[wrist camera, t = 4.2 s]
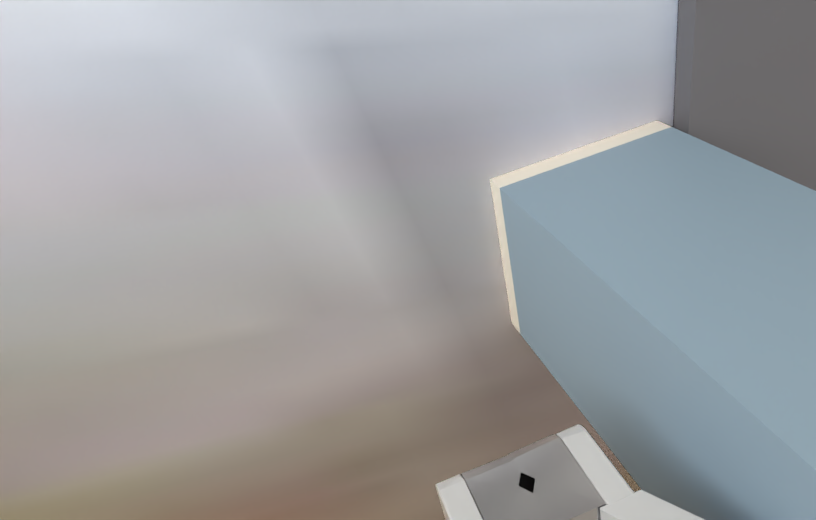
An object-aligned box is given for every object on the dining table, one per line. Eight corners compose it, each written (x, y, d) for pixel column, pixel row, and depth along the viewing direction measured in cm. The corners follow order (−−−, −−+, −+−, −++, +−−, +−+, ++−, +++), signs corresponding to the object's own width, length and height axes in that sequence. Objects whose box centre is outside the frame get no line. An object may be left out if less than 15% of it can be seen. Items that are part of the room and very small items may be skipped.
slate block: (511, 322, 18) (777, 663, 10) (489, 178, 15) (834, 487, 7) (653, 267, 19) (1011, 542, 11) (657, 120, 16) (1147, 338, 8)
